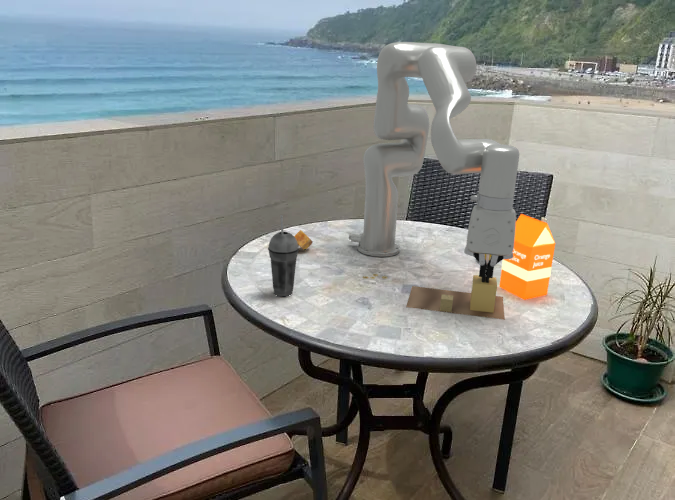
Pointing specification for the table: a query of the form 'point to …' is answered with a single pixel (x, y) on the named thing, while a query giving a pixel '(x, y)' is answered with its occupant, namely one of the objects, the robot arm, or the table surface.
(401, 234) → the table surface
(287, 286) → the beverage cup
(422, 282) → the table surface
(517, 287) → the orange juice
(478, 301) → the tan rectangular block
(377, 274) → the set of tan pieces
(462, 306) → the board
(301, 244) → the pyrite
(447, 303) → the wooden stub
